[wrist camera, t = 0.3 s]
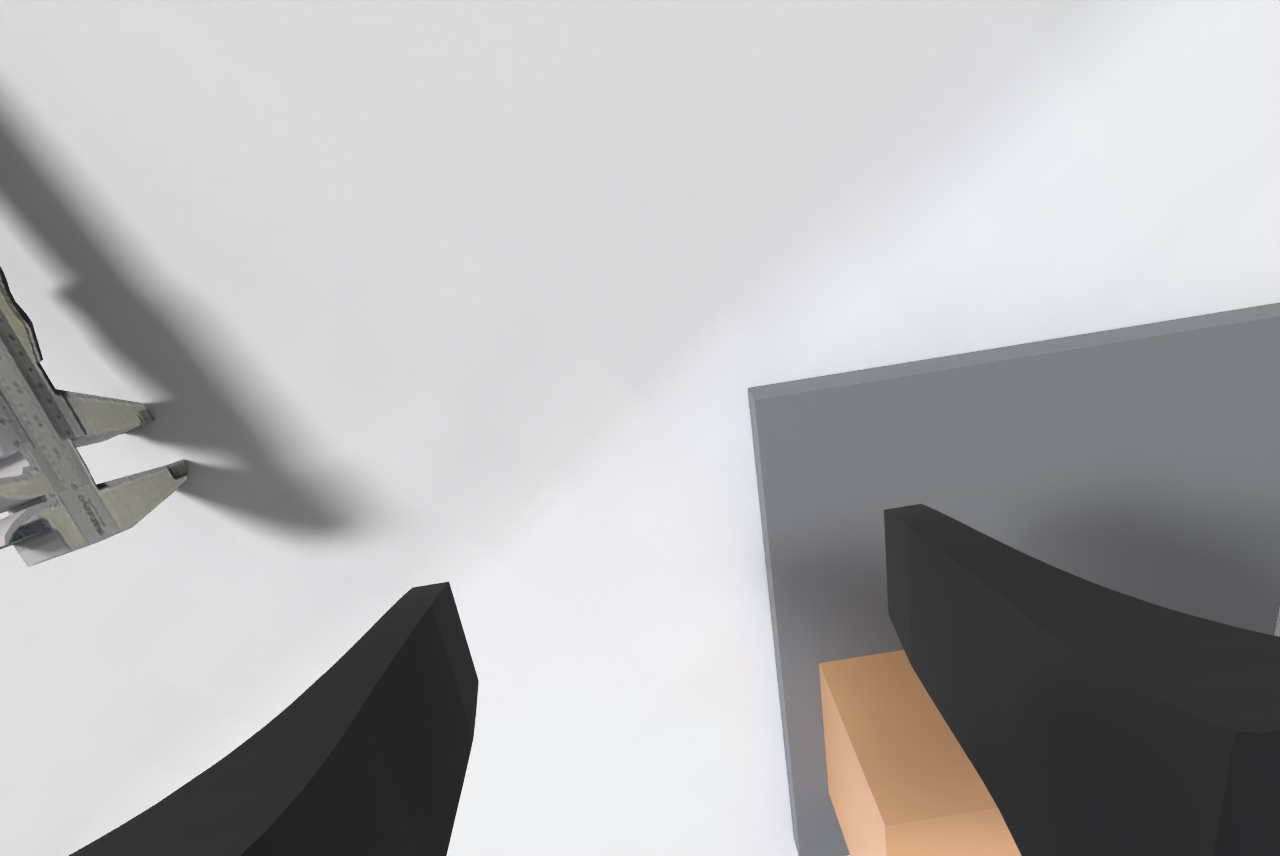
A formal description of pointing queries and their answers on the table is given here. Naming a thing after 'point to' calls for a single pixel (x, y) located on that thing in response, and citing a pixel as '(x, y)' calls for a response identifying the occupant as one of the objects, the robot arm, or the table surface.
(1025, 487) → the duct panel
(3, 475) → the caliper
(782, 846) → the table surface
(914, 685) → the orange cube
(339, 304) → the table surface
